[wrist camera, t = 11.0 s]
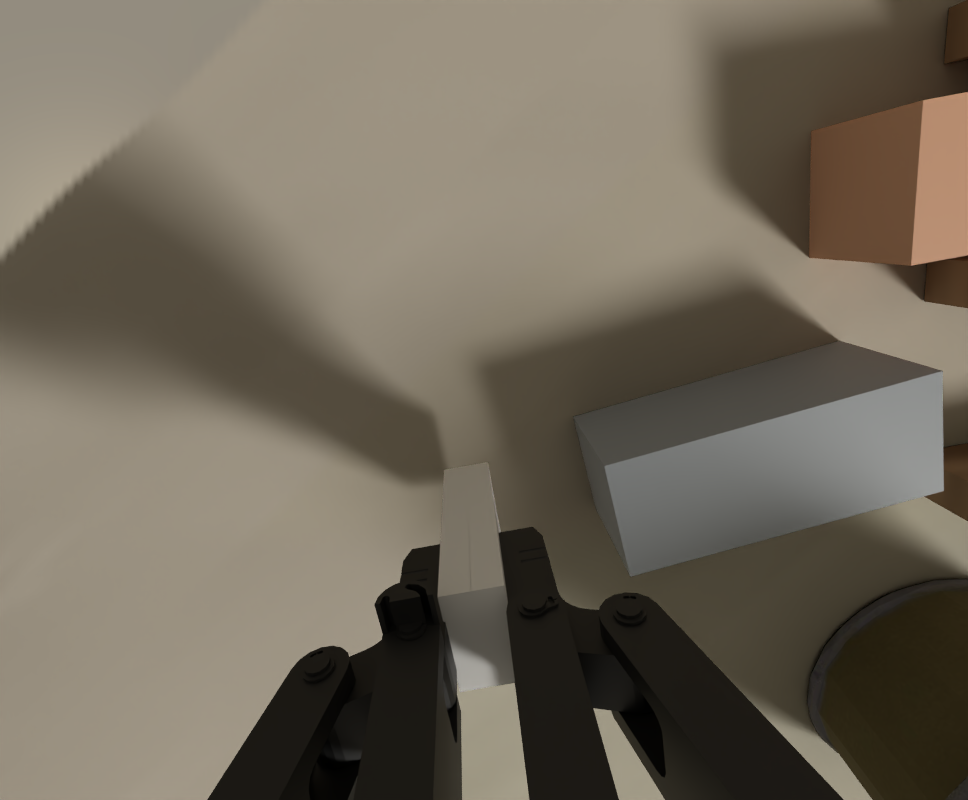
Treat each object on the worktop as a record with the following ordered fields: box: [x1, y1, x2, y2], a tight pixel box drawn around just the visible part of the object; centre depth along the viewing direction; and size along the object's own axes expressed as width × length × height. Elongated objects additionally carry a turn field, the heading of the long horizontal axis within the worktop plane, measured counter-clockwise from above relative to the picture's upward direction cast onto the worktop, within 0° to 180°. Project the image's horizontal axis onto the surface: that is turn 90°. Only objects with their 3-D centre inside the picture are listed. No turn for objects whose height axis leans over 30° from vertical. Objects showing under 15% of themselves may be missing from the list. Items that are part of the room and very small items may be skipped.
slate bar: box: [573, 341, 944, 577], centre depth 18 cm, size 10×4×4 cm, turn 106°
